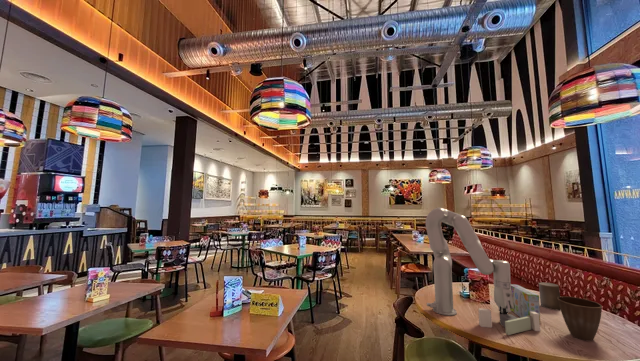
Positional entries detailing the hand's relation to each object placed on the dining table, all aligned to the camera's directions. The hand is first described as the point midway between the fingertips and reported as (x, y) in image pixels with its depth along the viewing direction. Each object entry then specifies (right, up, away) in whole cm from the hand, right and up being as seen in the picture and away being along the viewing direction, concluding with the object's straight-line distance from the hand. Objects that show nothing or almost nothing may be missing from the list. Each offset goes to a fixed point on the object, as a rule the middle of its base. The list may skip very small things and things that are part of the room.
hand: (503, 320), depth 137 cm
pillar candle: (+45, -5, +23) cm, 51 cm away
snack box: (+17, -2, +7) cm, 18 cm away
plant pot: (+25, 0, -16) cm, 30 cm away
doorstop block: (-1, 0, -6) cm, 6 cm away
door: (0, +1, -11) cm, 11 cm away
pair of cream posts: (-2, 0, -7) cm, 7 cm away
